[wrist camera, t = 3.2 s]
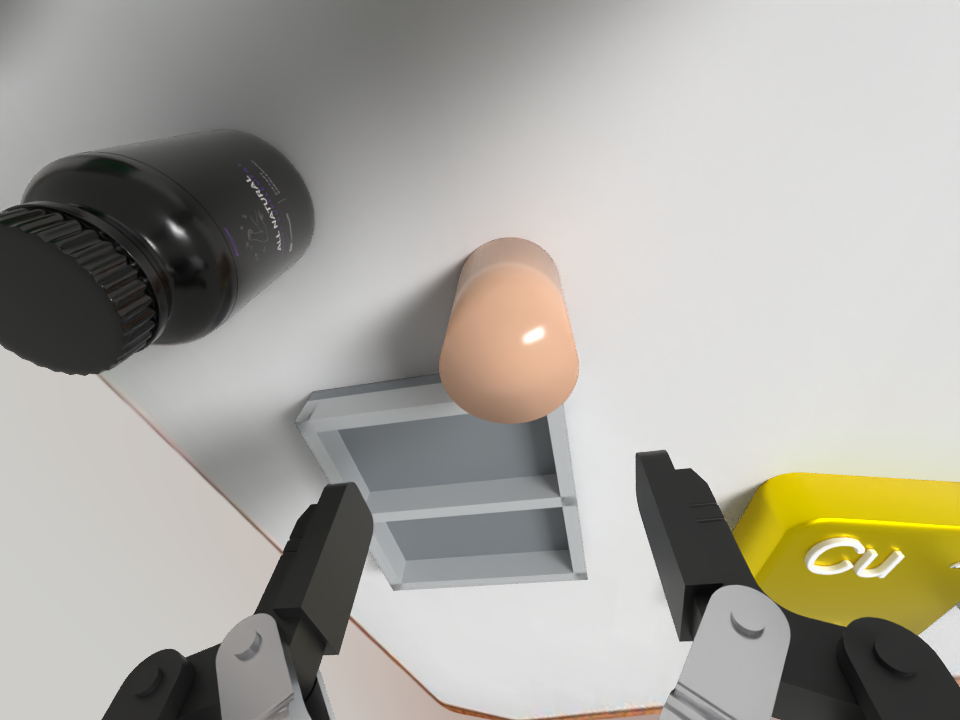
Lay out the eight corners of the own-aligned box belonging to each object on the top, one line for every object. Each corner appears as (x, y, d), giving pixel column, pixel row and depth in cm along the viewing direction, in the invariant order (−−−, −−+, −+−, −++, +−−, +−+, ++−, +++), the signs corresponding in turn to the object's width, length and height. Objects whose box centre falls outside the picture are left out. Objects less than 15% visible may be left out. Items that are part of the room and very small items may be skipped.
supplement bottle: (345, 200, 22) (205, 313, 12) (278, 289, 25) (122, 438, 15) (216, 88, 19) (-94, 112, 9) (160, 202, 22) (-121, 310, 12)
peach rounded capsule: (553, 228, 22) (572, 298, 15) (565, 322, 25) (584, 415, 18) (448, 248, 23) (422, 322, 16) (471, 337, 26) (457, 430, 19)
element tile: (700, 581, 39) (721, 639, 35) (765, 465, 31) (802, 524, 27) (872, 593, 39) (913, 653, 35) (986, 479, 30) (1058, 541, 26)
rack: (556, 357, 26) (561, 387, 24) (582, 544, 36) (587, 579, 34) (312, 391, 29) (294, 422, 26) (400, 557, 39) (393, 590, 36)
